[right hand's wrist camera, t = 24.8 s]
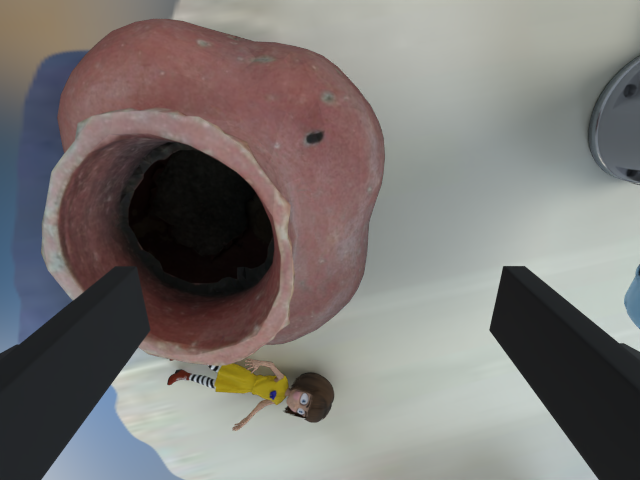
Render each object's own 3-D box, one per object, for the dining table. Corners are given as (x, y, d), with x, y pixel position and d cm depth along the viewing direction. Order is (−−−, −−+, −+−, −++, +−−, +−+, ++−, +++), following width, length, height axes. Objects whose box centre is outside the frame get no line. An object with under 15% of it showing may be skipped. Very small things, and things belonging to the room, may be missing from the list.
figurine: (164, 342, 48) (341, 391, 47) (190, 313, 55) (344, 355, 54) (159, 412, 53) (319, 457, 52) (183, 377, 60) (325, 416, 59)
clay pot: (84, 71, 40) (-251, 33, 16) (347, 9, 37) (392, -138, 14) (177, 299, 51) (57, 468, 28) (384, 262, 48) (444, 411, 25)
